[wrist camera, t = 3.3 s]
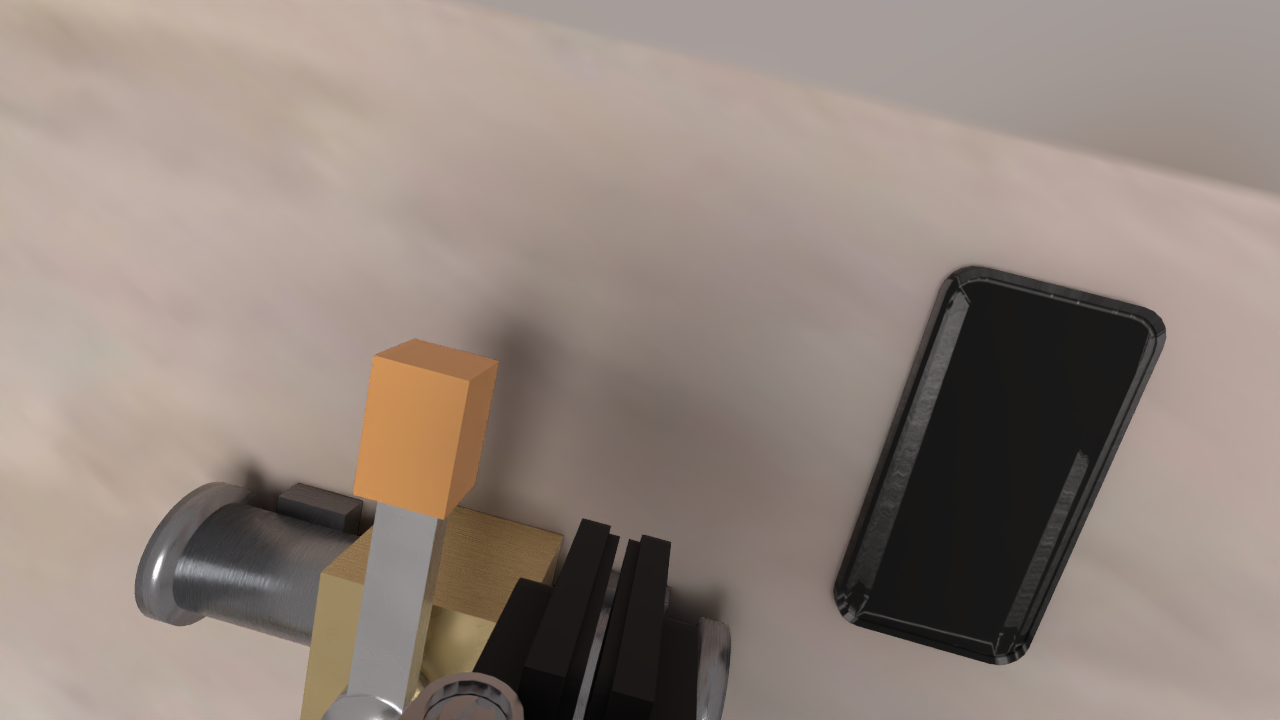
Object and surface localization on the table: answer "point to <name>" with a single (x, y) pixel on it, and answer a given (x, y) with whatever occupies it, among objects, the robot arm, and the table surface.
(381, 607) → the valve lever
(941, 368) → the phone
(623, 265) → the table surface
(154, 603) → the valve pipe
